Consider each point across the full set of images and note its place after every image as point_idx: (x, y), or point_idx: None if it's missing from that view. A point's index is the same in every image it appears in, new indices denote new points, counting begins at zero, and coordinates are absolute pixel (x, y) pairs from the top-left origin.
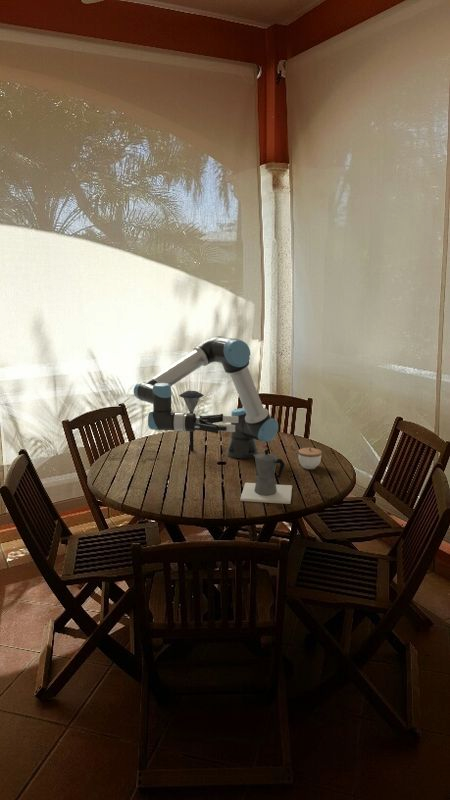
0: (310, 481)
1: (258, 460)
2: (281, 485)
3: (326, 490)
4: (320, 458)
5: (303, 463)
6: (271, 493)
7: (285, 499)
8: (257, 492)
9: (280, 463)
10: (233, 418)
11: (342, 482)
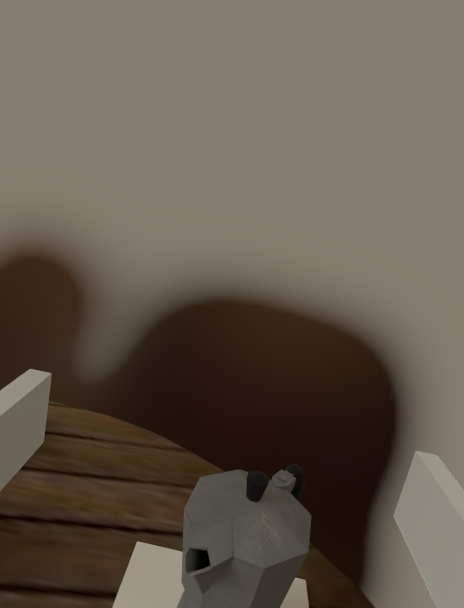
0: (84, 484)
1: (298, 560)
2: (132, 580)
3: (171, 469)
4: None
5: None
6: None
7: (289, 594)
8: None
9: (303, 482)
10: (17, 422)
11: (114, 426)
